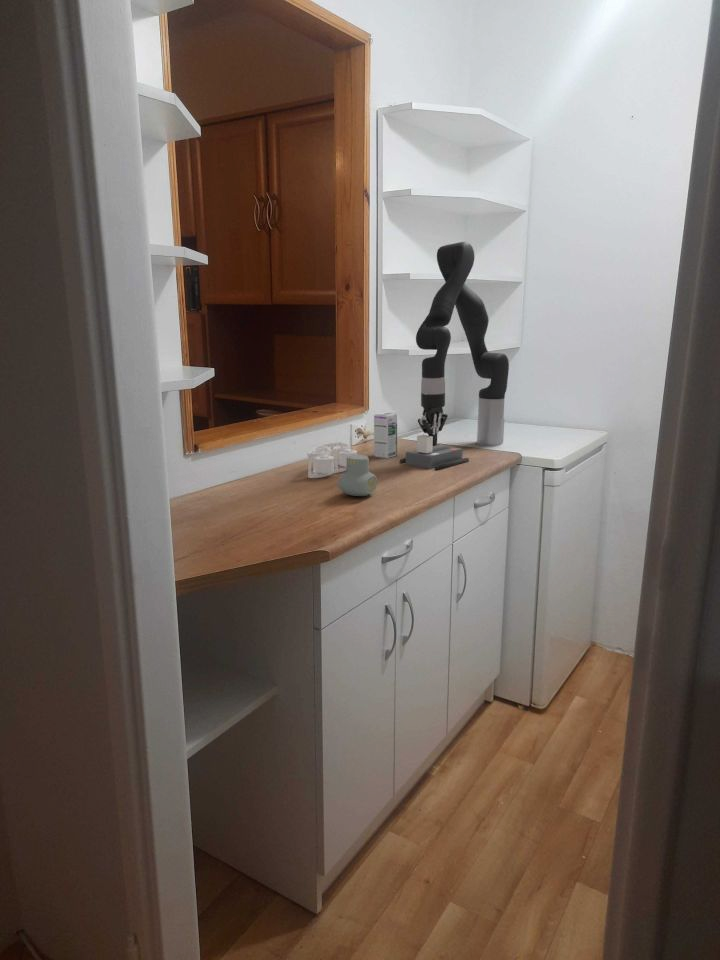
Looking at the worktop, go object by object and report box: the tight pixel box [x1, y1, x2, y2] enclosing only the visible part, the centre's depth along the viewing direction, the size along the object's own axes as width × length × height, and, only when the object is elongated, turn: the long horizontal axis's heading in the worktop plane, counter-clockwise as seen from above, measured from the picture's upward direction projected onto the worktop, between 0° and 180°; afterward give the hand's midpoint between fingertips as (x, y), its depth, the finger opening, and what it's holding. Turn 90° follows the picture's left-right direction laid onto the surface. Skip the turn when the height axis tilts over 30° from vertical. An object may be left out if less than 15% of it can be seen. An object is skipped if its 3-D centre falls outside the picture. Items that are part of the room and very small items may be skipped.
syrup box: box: [373, 412, 398, 459], centre depth 227 cm, size 6×6×14 cm
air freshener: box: [337, 454, 379, 497], centre depth 180 cm, size 11×8×10 cm
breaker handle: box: [416, 434, 433, 453], centre depth 214 cm, size 3×4×5 cm
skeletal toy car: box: [306, 441, 358, 479], centre depth 206 cm, size 20×11×7 cm, turn 142°
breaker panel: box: [405, 444, 464, 470], centre depth 219 cm, size 17×10×4 cm, turn 137°
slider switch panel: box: [399, 457, 470, 471], centre depth 219 cm, size 17×15×1 cm
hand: (432, 445), depth 217 cm, fingers closed
